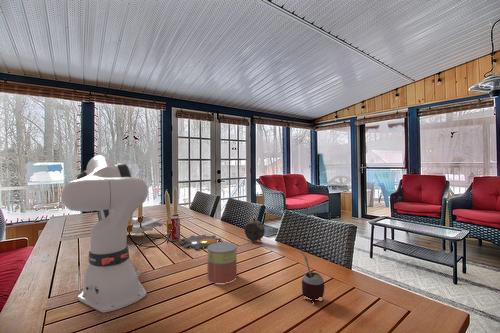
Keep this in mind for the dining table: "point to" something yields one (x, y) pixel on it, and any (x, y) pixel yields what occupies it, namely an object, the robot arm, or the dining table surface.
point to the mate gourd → (312, 283)
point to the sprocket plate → (199, 241)
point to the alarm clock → (254, 230)
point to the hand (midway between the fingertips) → (157, 226)
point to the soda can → (174, 229)
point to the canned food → (221, 262)
